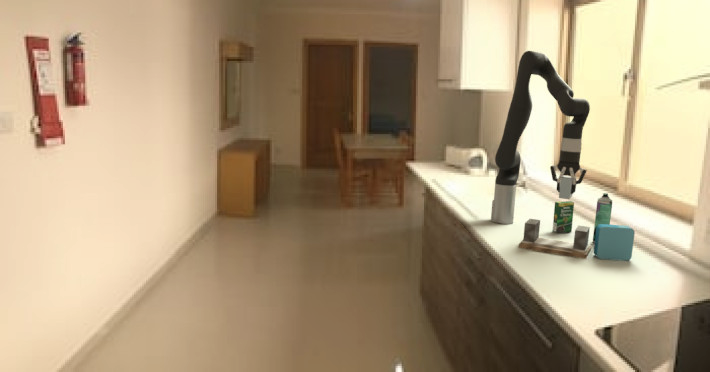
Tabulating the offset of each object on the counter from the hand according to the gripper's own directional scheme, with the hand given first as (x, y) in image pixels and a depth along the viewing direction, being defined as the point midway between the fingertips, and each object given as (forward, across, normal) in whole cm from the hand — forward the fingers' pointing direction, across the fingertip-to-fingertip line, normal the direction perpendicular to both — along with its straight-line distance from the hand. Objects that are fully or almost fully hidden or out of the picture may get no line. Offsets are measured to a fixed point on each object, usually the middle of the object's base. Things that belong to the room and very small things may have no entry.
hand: (565, 192), depth 230 cm
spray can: (+20, +14, +6) cm, 25 cm away
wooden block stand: (+19, 0, -15) cm, 25 cm away
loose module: (+2, 0, 0) cm, 2 cm away
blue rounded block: (+20, +20, -15) cm, 32 cm away
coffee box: (+20, -2, +15) cm, 25 cm away
